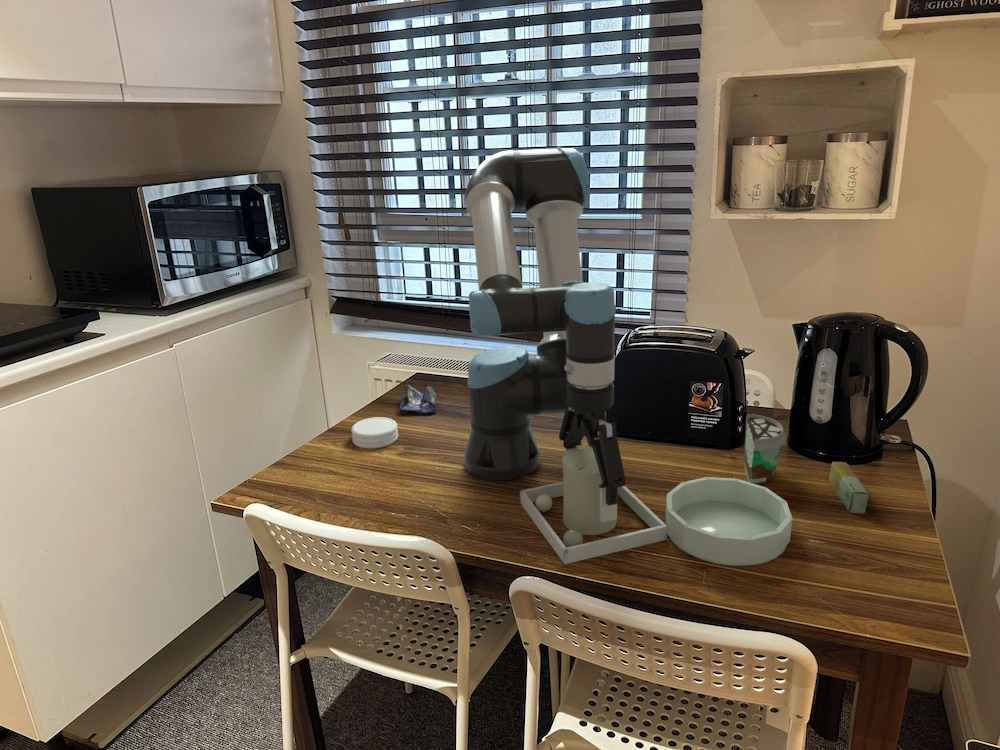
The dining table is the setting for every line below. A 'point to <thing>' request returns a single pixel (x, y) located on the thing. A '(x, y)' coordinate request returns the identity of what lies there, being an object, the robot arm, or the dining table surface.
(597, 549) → the parts tray
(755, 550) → the bowl
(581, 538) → the pebble
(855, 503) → the medication box
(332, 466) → the dining table surface
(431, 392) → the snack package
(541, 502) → the pebble
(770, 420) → the food container
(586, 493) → the can
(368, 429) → the round white tin
